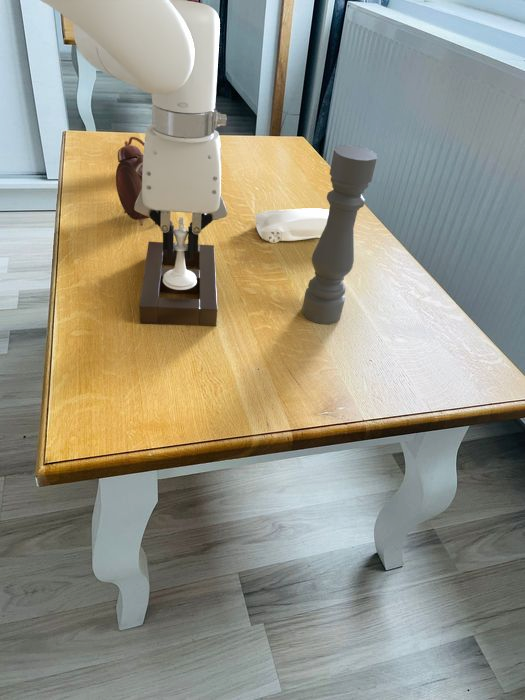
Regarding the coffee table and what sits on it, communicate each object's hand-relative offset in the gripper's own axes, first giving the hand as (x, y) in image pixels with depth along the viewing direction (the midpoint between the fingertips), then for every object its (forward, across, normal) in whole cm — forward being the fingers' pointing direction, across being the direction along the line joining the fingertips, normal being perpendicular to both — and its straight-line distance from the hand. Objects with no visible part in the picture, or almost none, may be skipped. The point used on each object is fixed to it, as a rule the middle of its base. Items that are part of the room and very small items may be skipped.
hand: (180, 253), depth 79 cm
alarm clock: (+9, +8, -28) cm, 31 cm away
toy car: (+9, -23, -26) cm, 36 cm away
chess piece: (+5, 0, 0) cm, 5 cm away
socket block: (+9, 0, -4) cm, 10 cm away
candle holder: (+9, -22, +1) cm, 24 cm away
